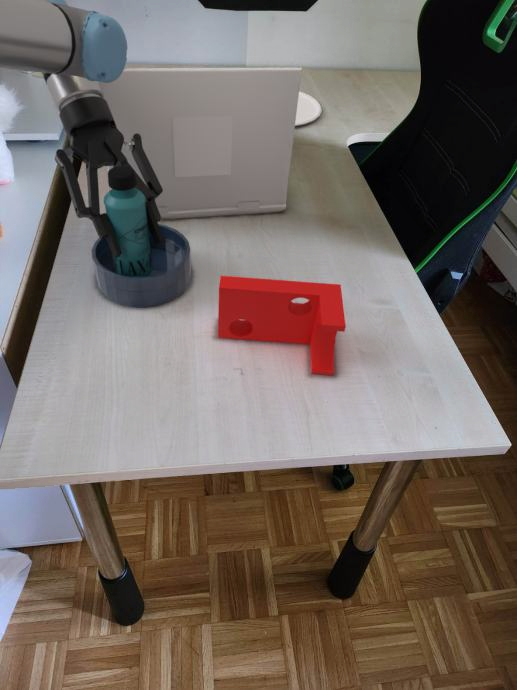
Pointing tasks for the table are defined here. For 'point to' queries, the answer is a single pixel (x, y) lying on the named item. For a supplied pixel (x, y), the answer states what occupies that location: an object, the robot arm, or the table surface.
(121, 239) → the beverage bottle
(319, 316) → the bracket
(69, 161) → the robot arm
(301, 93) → the plate
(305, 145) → the table surface
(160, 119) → the laptop
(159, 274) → the bowl
